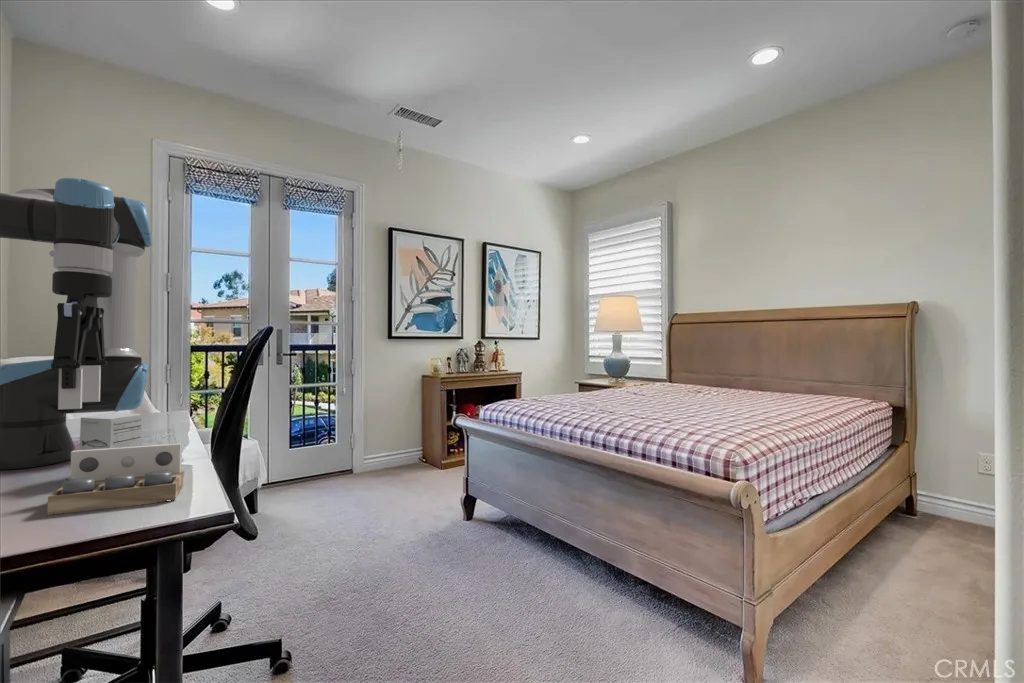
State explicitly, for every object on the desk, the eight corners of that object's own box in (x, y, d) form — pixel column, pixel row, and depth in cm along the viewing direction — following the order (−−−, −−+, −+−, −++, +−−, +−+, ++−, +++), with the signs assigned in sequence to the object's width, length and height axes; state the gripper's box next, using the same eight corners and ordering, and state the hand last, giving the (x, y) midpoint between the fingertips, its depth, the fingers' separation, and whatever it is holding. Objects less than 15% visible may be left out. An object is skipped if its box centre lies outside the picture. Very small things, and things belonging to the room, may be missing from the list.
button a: (67, 493, 81) (67, 478, 81) (97, 490, 83) (97, 475, 83) (58, 500, 77) (58, 485, 77) (90, 496, 79) (90, 482, 79)
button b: (108, 489, 83) (108, 474, 83) (136, 486, 85) (137, 472, 85) (101, 495, 80) (101, 481, 80) (131, 492, 82) (131, 478, 82)
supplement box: (77, 479, 95) (78, 417, 95) (113, 469, 102) (114, 411, 102) (108, 481, 94) (110, 418, 94) (142, 471, 101) (143, 413, 101)
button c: (147, 485, 86) (147, 471, 86) (173, 482, 88) (173, 469, 88) (141, 491, 82) (142, 477, 82) (169, 488, 84) (170, 474, 84)
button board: (70, 496, 85) (70, 480, 85) (184, 485, 93) (184, 469, 93) (47, 515, 76) (47, 496, 76) (175, 500, 84) (175, 484, 84)
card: (72, 481, 84) (73, 450, 84) (180, 471, 91) (181, 443, 91) (69, 483, 83) (70, 452, 83) (179, 473, 90) (180, 444, 90)
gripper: (77, 278, 88) (74, 398, 88) (24, 261, 69) (20, 415, 69) (127, 281, 91) (125, 397, 91) (91, 266, 72) (87, 413, 72)
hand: (80, 405), depth 80 cm, fingers open, 9 cm apart
